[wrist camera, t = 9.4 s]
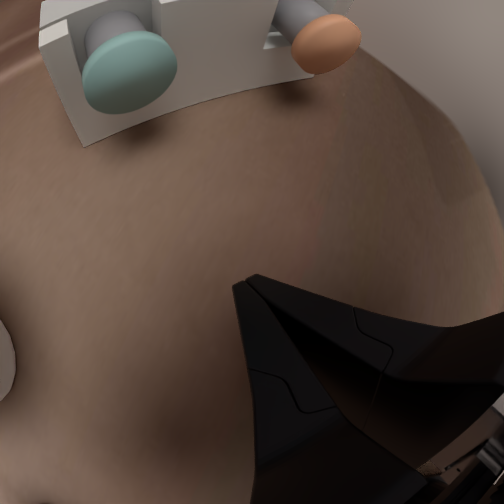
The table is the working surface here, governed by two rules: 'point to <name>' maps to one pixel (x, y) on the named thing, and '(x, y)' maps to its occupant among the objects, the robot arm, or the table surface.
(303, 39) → the terracotta button
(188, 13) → the button panel
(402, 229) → the table surface
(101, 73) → the teal button
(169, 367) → the table surface
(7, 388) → the coffee cup
